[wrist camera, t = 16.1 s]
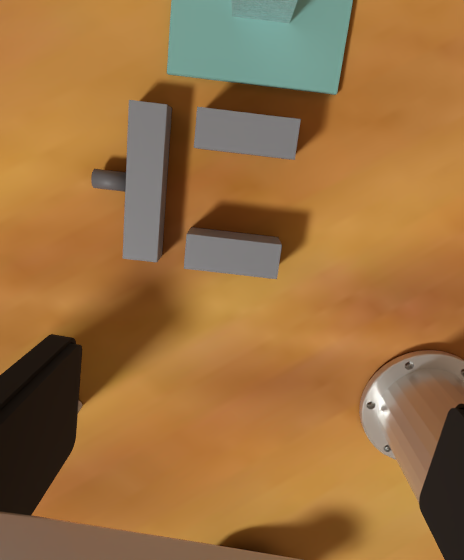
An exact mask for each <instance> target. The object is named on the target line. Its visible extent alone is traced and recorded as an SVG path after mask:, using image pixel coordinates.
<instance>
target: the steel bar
mask: <svg viewBox="0 0 464 560" xmlns="http://www.w3.org/2000/svg"><path fill="white" fill-rule="evenodd" d="M297 1H298V0H232V16H233V17H241V18H249V19H257V20H265V21H273V22H281V23H290V20H291V17H292V14H293V12H294V9H295V6H296V4H297Z"/></svg>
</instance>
